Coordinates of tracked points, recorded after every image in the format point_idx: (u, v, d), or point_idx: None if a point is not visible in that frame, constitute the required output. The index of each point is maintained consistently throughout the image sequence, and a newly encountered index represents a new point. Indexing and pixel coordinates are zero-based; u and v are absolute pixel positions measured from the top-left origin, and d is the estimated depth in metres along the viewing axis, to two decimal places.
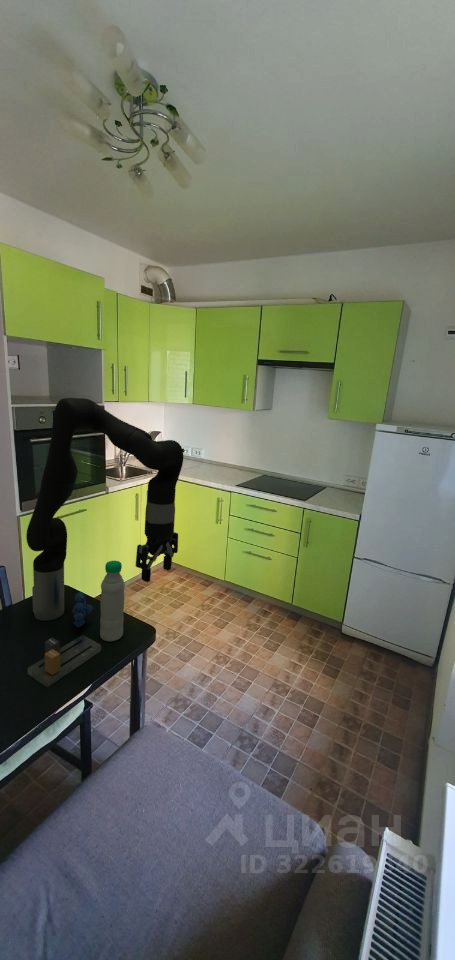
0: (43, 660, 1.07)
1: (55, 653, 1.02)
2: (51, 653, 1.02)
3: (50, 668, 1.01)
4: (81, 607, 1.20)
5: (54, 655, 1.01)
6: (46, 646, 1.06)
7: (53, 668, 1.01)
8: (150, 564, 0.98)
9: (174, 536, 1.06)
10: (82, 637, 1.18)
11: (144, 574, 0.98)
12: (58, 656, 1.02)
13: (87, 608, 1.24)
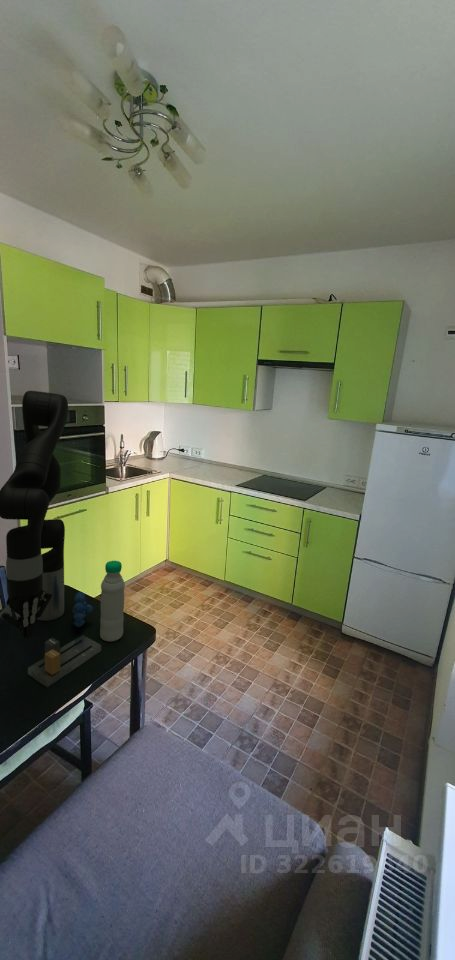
0: (43, 660, 1.07)
1: (55, 653, 1.02)
2: (51, 653, 1.02)
3: (50, 668, 1.01)
4: (81, 607, 1.20)
5: (54, 655, 1.01)
6: (46, 646, 1.06)
7: (53, 668, 1.01)
8: (25, 621, 0.91)
9: (46, 596, 0.96)
10: (82, 637, 1.18)
11: (21, 631, 0.92)
12: (58, 656, 1.02)
13: (87, 608, 1.24)
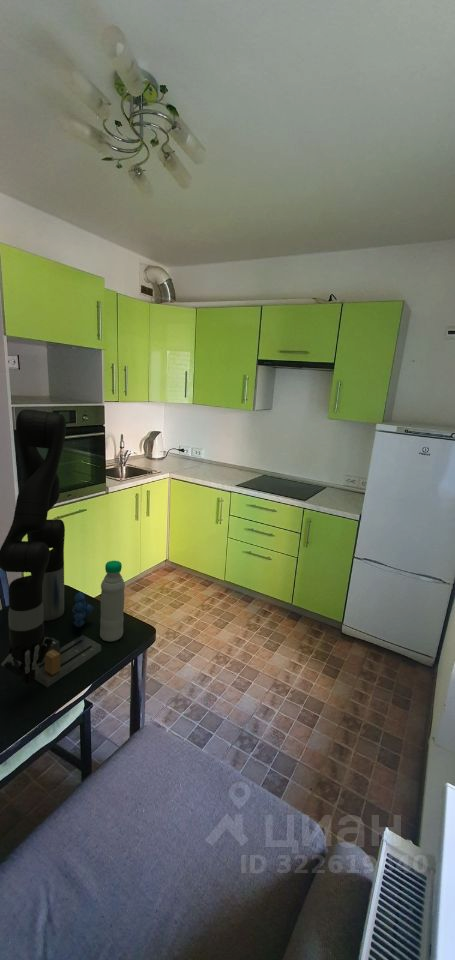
0: (43, 660, 1.07)
1: (55, 653, 1.02)
2: (51, 653, 1.02)
3: (50, 668, 1.01)
4: (81, 607, 1.20)
5: (54, 655, 1.01)
6: None
7: (53, 668, 1.01)
8: (27, 668, 0.94)
9: (47, 641, 0.99)
10: (82, 637, 1.18)
11: (23, 678, 0.95)
12: (58, 656, 1.02)
13: (87, 608, 1.24)
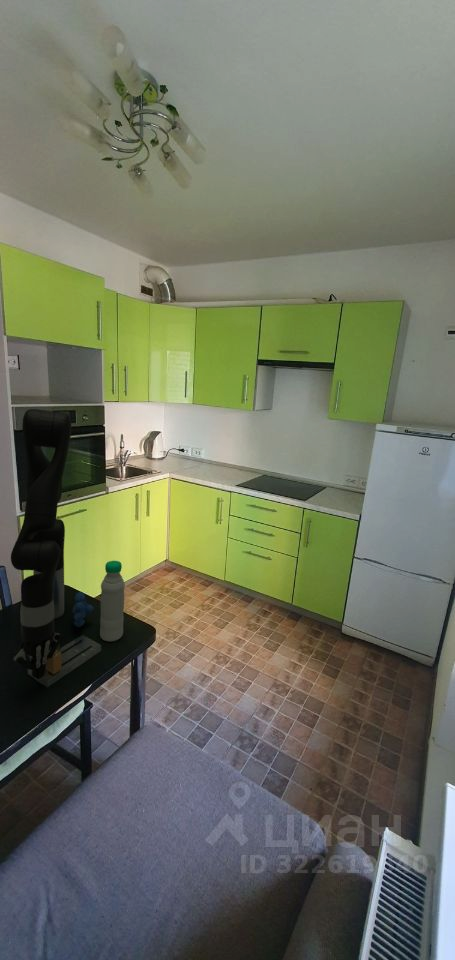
0: None
1: (56, 652, 1.02)
2: None
3: (51, 667, 1.02)
4: (81, 607, 1.20)
5: (55, 654, 1.02)
6: None
7: (54, 668, 1.02)
8: (38, 662, 0.97)
9: (57, 637, 1.02)
10: (82, 637, 1.18)
11: (34, 672, 0.98)
12: (59, 655, 1.02)
13: (87, 608, 1.24)
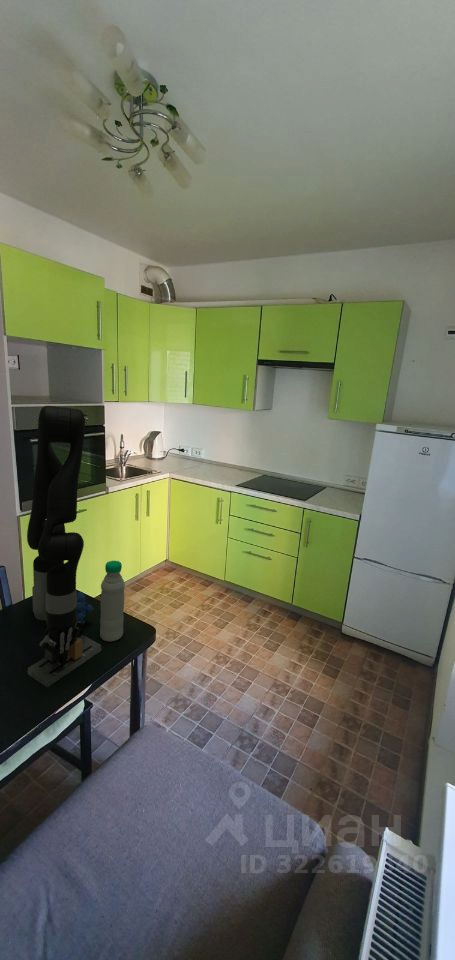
0: (43, 660, 1.07)
1: (78, 639, 1.08)
2: None
3: (73, 654, 1.08)
4: (81, 607, 1.20)
5: (77, 641, 1.08)
6: None
7: (76, 654, 1.07)
8: (61, 648, 1.03)
9: (79, 625, 1.07)
10: (82, 637, 1.18)
11: (57, 657, 1.04)
12: (80, 642, 1.08)
13: (87, 608, 1.24)
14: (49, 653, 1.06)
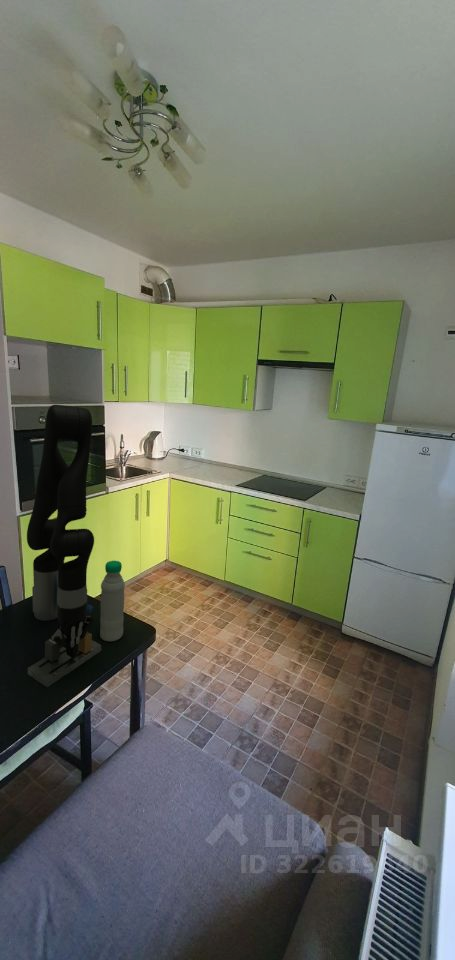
0: (43, 660, 1.07)
1: (87, 634, 1.11)
2: None
3: (82, 648, 1.10)
4: None
5: (86, 635, 1.10)
6: (46, 646, 1.06)
7: (85, 648, 1.10)
8: (72, 642, 1.06)
9: (88, 619, 1.10)
10: None
11: (68, 651, 1.06)
12: (90, 636, 1.11)
13: (87, 608, 1.24)
14: (49, 653, 1.06)
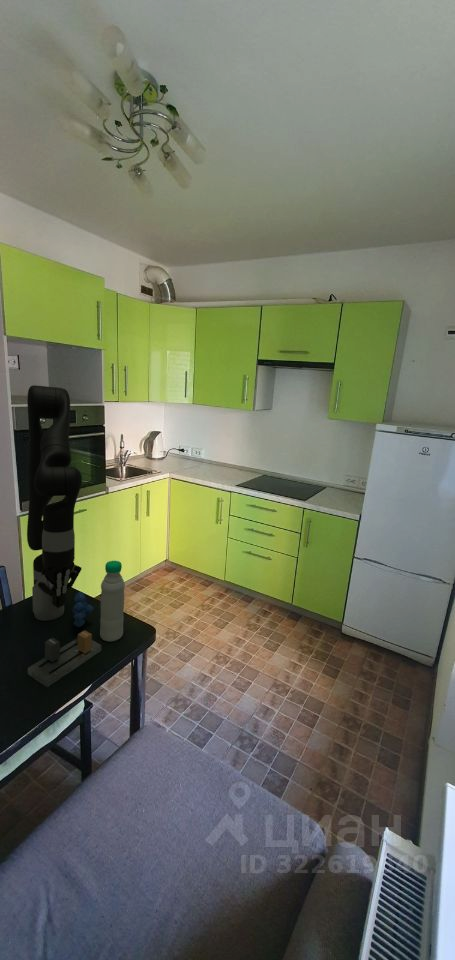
0: (43, 660, 1.07)
1: (87, 634, 1.11)
2: (84, 633, 1.11)
3: (82, 647, 1.10)
4: (81, 607, 1.20)
5: (86, 635, 1.10)
6: (46, 646, 1.06)
7: (85, 647, 1.10)
8: (58, 590, 0.99)
9: (76, 569, 1.03)
10: None
11: (54, 600, 0.99)
12: (90, 636, 1.11)
13: (87, 608, 1.24)
14: (49, 653, 1.06)
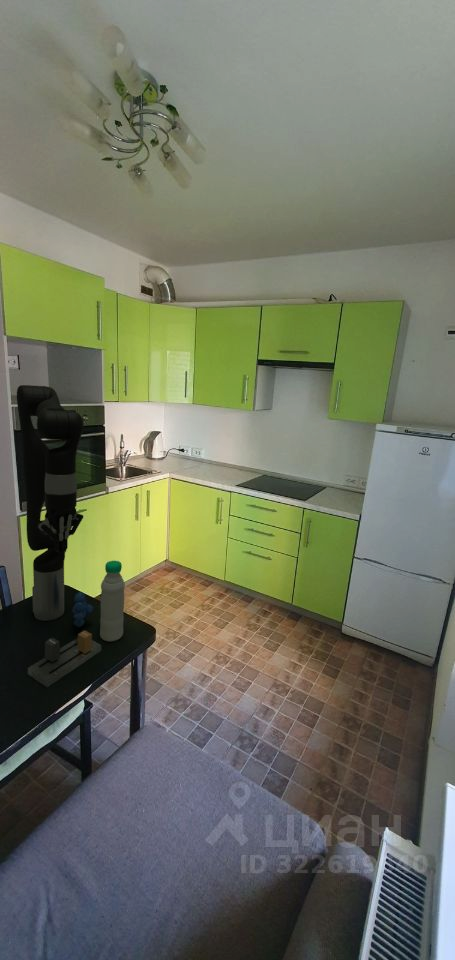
0: (43, 660, 1.07)
1: (87, 634, 1.11)
2: (84, 633, 1.11)
3: (82, 647, 1.10)
4: (81, 607, 1.20)
5: (86, 635, 1.10)
6: (46, 646, 1.06)
7: (85, 647, 1.10)
8: (61, 535, 1.01)
9: (78, 516, 1.05)
10: None
11: (57, 545, 1.01)
12: (90, 636, 1.11)
13: (87, 608, 1.24)
14: (49, 653, 1.06)
